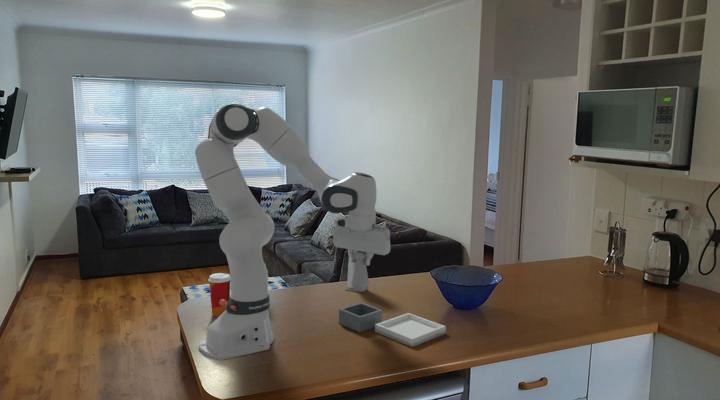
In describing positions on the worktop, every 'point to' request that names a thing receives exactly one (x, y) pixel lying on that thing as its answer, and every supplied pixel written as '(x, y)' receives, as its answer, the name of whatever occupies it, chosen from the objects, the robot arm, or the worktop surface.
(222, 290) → the paper cup
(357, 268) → the salt shaker
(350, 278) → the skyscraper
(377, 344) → the worktop surface
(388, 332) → the tray
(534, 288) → the worktop surface
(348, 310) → the hollow square frame
